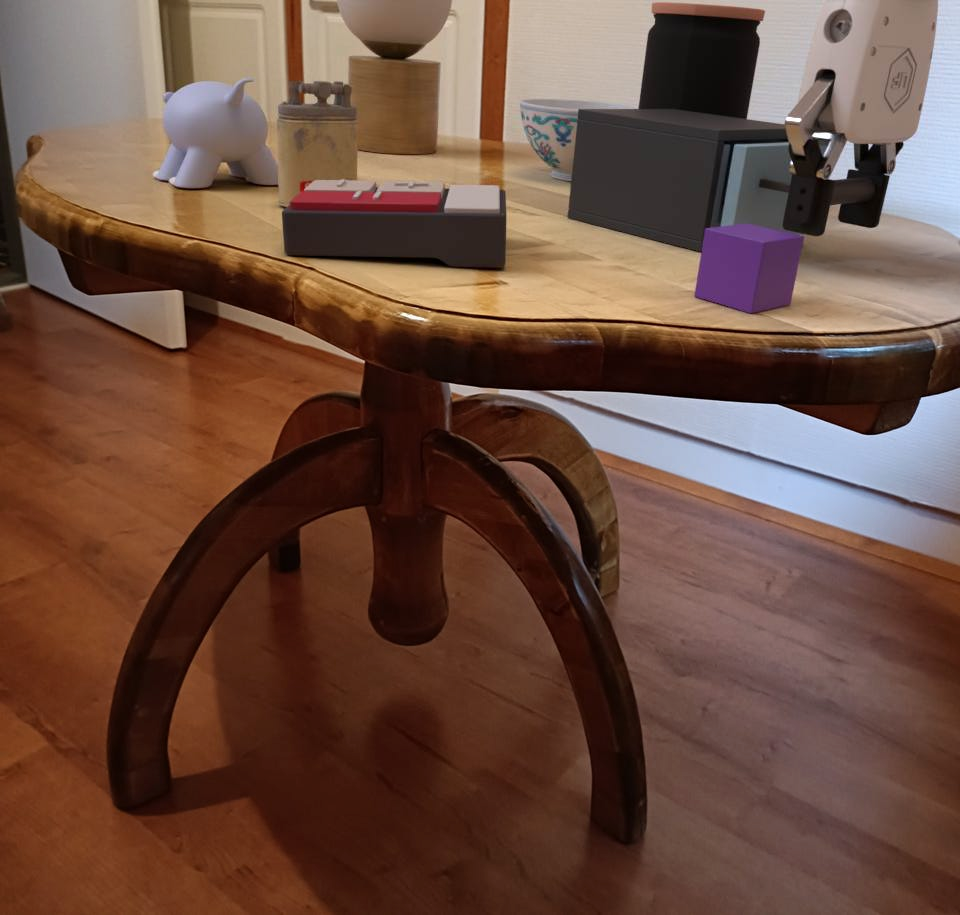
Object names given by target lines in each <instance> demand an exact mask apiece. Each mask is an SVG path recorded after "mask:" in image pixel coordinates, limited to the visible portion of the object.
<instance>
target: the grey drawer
mask: <svg viewBox="0 0 960 915" xmlns="http://www.w3.org/2000/svg"><path fill="white" fill-rule="evenodd" d="M788 147H789V141H788V140H781V139H768V140H740V141H724V145H723V151H722V157H721V164H720V170H719V176H718V182H717V188H716V194H715V200H714V206H713V212H712V218H711V225H710V228H713V227H721V226H729V225H736V224H744V223H747V224H752V225H756V226H760V227H765V228H769V229H774V230H778V231H783V232H787V233H792V234H796V235H801V236H804V234H802V233H797V232H793V231H788V230H785V229H784V228H783V219H784V214H785V209H786V204H787V199H788V194H789V188H790V183H791V178H792V174H790V172H789V166H790V163H791V161H792V160H791V157H790V154H789V151H788ZM819 147H820V150H821V153H822V156H823V155H824V153H825V151H826V149H827V147H828V146H822V145H819ZM835 180H836V181H835V185H834V190H833V195H832V199H831V204H830V206H837V205H838V206H839V205H841V204H847V203H855V202H864V201H868V200H870V199H871V198H872V197H873V195H874V193H875V189H876V188H875V183H874V182H873V180H872V179H870V178H867V177H862V178H850V179H846V178H841V179H839V178H838V179H835Z"/></svg>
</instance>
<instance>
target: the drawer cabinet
mask: <svg viewBox="0 0 960 915" xmlns="http://www.w3.org/2000/svg"><path fill="white" fill-rule="evenodd" d="M768 139H781V140H788V137H787V133H786V129H785V123H777V122H771V121H763V120H756V119H748V118H747V119H742V118H735V117H727V116H720V115H713V114H705V113H698V112H691V111H683V110H676V109H578V120H577V130H576V139H575V149H574V159H573V169H572V178H571V181H570V188H569V189H570V190H569V199H568V210H567V219H570V220H574V221H579V222H582V223H587V224H590V225H593V226H597V227H602V228H606V229H610V230H613V231H617V232H622V233H624V234H628V235H633V236H637V237H640V238H645V239H648V240H652V241H656V242H660V243H663V242H664V244H667V243H668V245H671V244H672V245H671V246H675V245H676V246H675V247H679V246H680V247H679V248H683V247H685V248H684V249H687V248H688V249H687V250H691V249H692V250H691V251H694V250H696V251H695V252H698V251H699V253H701V251H702V246H703V239H704V233H705V229H706V228H710V225H711V218H712V212H713V206H714V200H715V194H716V188H717V182H718V176H719V170H720V164H721V157H722V151H723V145H724V141H740V140H768Z"/></svg>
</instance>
